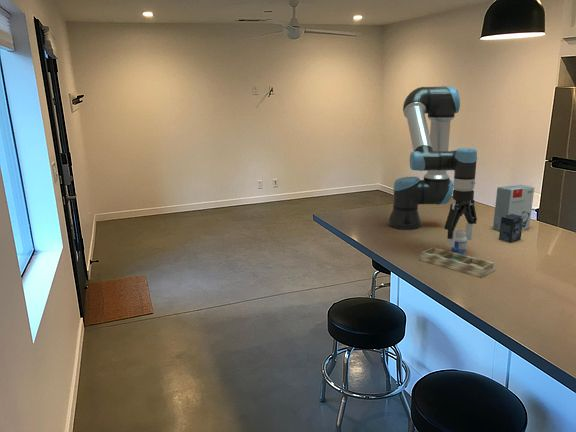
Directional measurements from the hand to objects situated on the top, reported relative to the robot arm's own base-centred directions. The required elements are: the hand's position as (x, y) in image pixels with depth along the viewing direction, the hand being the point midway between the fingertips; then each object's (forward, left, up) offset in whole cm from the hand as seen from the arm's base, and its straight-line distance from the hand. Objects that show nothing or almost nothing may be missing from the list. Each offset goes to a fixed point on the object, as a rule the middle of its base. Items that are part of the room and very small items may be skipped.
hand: (459, 243), depth 183 cm
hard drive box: (-2, +51, -5) cm, 52 cm away
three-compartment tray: (+5, -11, -5) cm, 13 cm away
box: (+5, +34, -5) cm, 35 cm away
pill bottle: (0, 0, -5) cm, 5 cm away
